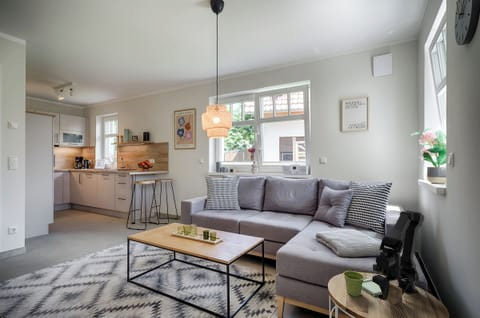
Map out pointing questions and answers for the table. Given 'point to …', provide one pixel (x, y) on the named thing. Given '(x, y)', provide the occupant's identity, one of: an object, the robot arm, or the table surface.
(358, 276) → the plant pot
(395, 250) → the robot arm
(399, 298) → the walnut block
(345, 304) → the table surface
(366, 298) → the table surface
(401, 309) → the table surface
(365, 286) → the green tray
